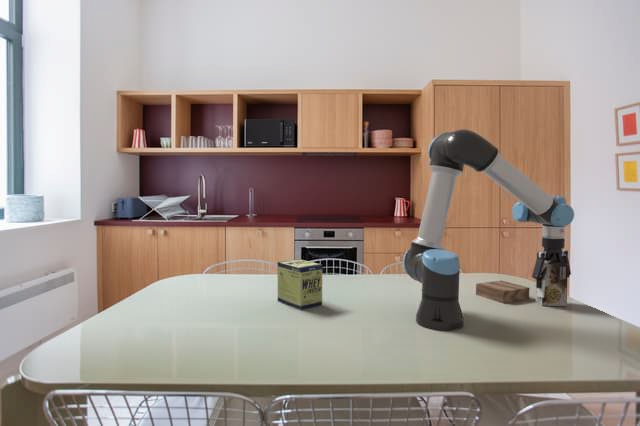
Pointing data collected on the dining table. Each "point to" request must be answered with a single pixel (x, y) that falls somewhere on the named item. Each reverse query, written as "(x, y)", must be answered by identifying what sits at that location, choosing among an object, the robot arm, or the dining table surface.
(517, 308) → the dining table surface
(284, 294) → the protein box
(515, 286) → the walnut riser block
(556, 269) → the coffee box
